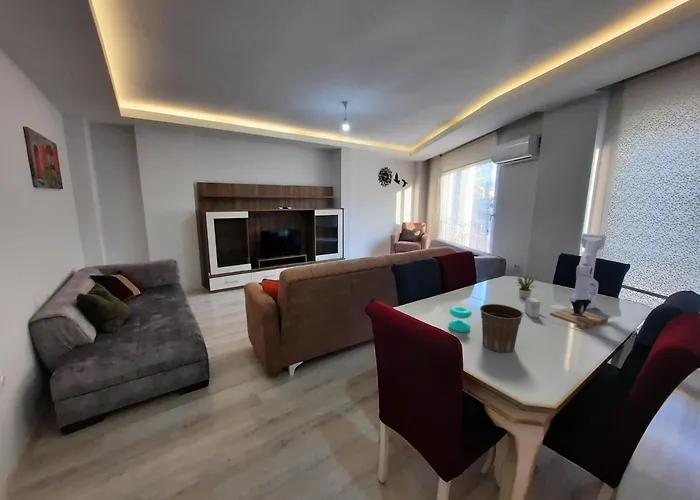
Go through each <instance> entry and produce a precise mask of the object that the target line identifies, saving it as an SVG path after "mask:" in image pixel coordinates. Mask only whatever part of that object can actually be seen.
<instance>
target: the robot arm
mask: <svg viewBox="0 0 700 500" xmlns="http://www.w3.org/2000/svg"><path fill="white" fill-rule="evenodd" d="M606 236H607V235H605V234H601V233H600V234H598V233H586V232H585V233H582V236H581V239H580V240H581V242H580V243H581V246H582V249H583V248H584V249H585V251H584V254H582V255H581V256H580V261H579V264H578V265H577V266H576V269H575V270H576V271H575V273H576V275H575V276H576V277H575V279H576V280H575V281H576V282H575V287H574V293H572V294H571V296H570V297H569V301H570V303H571V305H572V308H573V310H574V313H576V314H579V313H580V310H581V307H582V305H584V309H583V313H584V312H585V311H586V310H592V309H595V308H596V307H597V295H598V291H599V282H598V281H597V280H596V279H595V278H594V272H595V268H596V262H597V254H598V252H599V250H603V249H604V248H605V247H604V246H605V243H606Z"/></svg>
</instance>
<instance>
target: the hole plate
mask: <svg viewBox="0 0 700 500" xmlns="http://www.w3.org/2000/svg"><path fill="white" fill-rule="evenodd" d="M549 315H551V316H553V317H556V318H559V319H562V320H564V321H568V322H570V323H573V324H575V325H574V327H575V328H578V329H582V330H585V329H588V328H593V327H597V325H598V326H601V324H602V325H605V324H608V322H609V317H605V316H601V315H599V314H595V313H593V312H589V311H586V310H585V312H584V313H583V316H582V317H578V316H575V315H574V310H573V307H572V308H566V309H561V310H557V311H551V312H550V313H549Z"/></svg>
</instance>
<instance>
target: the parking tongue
mask: <svg viewBox="0 0 700 500" xmlns="http://www.w3.org/2000/svg"><path fill="white" fill-rule="evenodd" d="M549 308H553V309H556V310H558V311H562V310H567V309H569V306H568V307H567V306H565V305H562V304H561V305H560V304H553V305H549Z"/></svg>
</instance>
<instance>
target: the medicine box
mask: <svg viewBox="0 0 700 500" xmlns="http://www.w3.org/2000/svg"><path fill="white" fill-rule="evenodd" d="M540 309H541V302H540V300H538V299H537V298H535V297H529V298H525V305H524V313H526V314H527V315H528V316H529V317H530V318H540V311H541V310H540Z"/></svg>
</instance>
